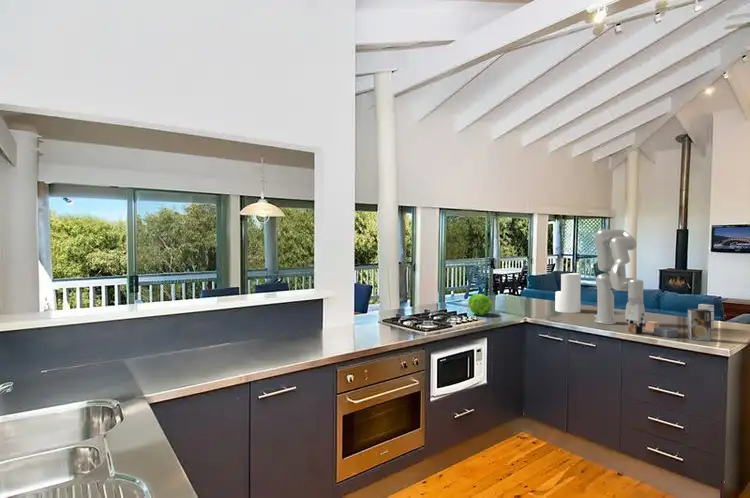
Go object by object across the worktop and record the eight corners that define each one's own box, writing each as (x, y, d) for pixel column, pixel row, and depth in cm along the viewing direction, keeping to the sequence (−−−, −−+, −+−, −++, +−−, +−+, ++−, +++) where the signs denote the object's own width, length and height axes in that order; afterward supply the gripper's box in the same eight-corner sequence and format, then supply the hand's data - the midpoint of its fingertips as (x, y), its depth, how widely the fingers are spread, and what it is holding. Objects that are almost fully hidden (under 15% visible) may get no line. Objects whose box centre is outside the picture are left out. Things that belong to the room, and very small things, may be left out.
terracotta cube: (645, 330, 263) (645, 321, 263) (650, 329, 265) (650, 320, 265) (654, 331, 258) (654, 323, 258) (659, 330, 261) (659, 322, 261)
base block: (653, 335, 250) (653, 328, 250) (664, 334, 253) (664, 327, 253) (666, 338, 243) (666, 331, 243) (677, 337, 245) (677, 330, 245)
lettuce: (492, 316, 323) (494, 295, 324) (488, 318, 305) (491, 296, 305) (469, 312, 329) (471, 292, 330) (464, 314, 311) (467, 292, 311)
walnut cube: (628, 332, 257) (628, 323, 257) (635, 331, 258) (635, 323, 258) (635, 334, 252) (635, 325, 252) (642, 333, 254) (642, 324, 253)
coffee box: (707, 338, 240) (707, 309, 240) (711, 341, 234) (711, 311, 234) (687, 337, 243) (687, 308, 243) (690, 339, 237) (691, 310, 237)
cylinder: (585, 311, 329) (585, 273, 328) (571, 313, 319) (572, 274, 318) (563, 308, 343) (564, 272, 342) (550, 310, 333) (550, 273, 333)
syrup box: (714, 329, 264) (714, 304, 264) (706, 329, 263) (707, 305, 262) (704, 327, 270) (705, 303, 269) (697, 327, 268) (697, 303, 268)
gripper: (618, 299, 262) (618, 329, 263) (642, 303, 246) (641, 335, 246) (629, 298, 264) (628, 328, 265) (653, 302, 247) (653, 335, 248)
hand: (635, 331), depth 255 cm, fingers closed on walnut cube, 5 cm apart
